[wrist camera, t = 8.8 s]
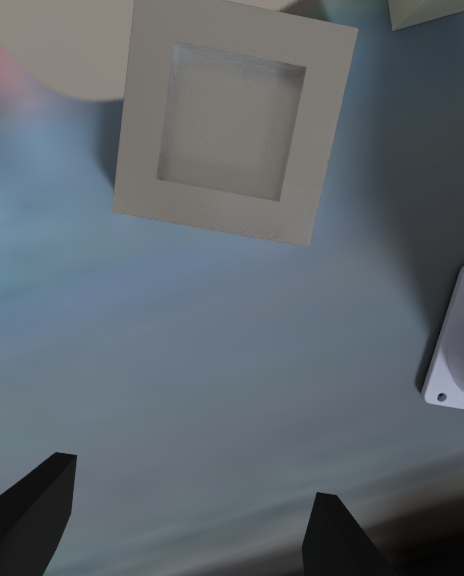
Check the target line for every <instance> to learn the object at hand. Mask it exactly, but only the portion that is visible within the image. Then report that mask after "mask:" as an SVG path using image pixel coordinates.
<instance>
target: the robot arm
mask: <svg viewBox="0 0 464 576" xmlns="http://www.w3.org/2000/svg"><path fill="white" fill-rule="evenodd" d="M440 393H443V395H442V397H440V398H437V396H438V395H439V394H440ZM421 396H422V398H423V399H424V400H425V401H426V402H427V403H430V404H436V405H442V406H448V407H454V408H460V409H464V266H463V267H462V268H461V270H460V273H459V276H458V279H457V282H456V285H455V288H454V291H453V294H452V298H451V301H450V304H449V307H448V310H447V313H446V316H445V319H444V323H443V326H442V329H441V332H440V335H439V338H438V341H437V344H436V348H435V351H434V354H433V357H432V360H431V363H430V366H429V369H428V373H427V376H426V379H425V382H424V385H423V388H422V391H421ZM76 461H77V455H72V454H65V453H59V452H56V453H54V454H53V455H51V456H50V457H49V458H48V459H46V460H45V461H44V462H42V463H41V464H40V465H39V466H37V467H36V468H35V469H34V470H32V471H31V472H30V473H29V474H27V475H26V476H25V477H24V478H22V479H21V480H20V481H18V482H17V483H16V484H15V485H13V486H12V487H11V488H9V489H8V490H7V491H5V492H4V493H3V494H1V495H0V576H42V575H43V574H44V572H45V570H46V568H47V566H48V564H49V562H50V560H51V559H52V557H53V555H54V553H55V551H56V549H57V546H58V544H59V542H60V539H61V537H62V535H63V532H64V530H65V527H66V525H67V522H68V520H69V517H70V515H71V509H72V500H73V490H74V480H75V471H76ZM302 554H303V564H304V573H305V576H399V575H398V574H397V573H396V571H395V570H394V569H393V568H392V566H391V565H390V564H389V563H388V562H387V560H386V559H385V558H384V557H383V555H382V554H381V553H380V552H379V550H378V549H377V548H376V546H375V545H374V544H373V543H372V541H371V540H370V539H369V537H368V536H367V535H366V534H365V532H364V531H363V530H362V528H361V527H360V526H359V524H358V523H357V522H356V520H355V519H354V518H353V516H352V515H351V514H350V512H349V511H348V509H347V508H346V507H345V505H344V504H343V503H342V501H341V500H340V499H339V498H338V496H337V495H332V494H326V493H319V492H317V493H316V497H315V501H314V504H313V508H312V512H311V515H310V519H309V523H308V526H307V530H306V534H305V537H304V541H303V545H302Z"/></svg>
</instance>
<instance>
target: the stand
mask: <svg viewBox="0 0 464 576" xmlns="http://www.w3.org/2000/svg"><path fill="white" fill-rule="evenodd" d="M358 30H359V28H355V27H350V26H346V25H341V24H336V23H331V22H326V21H321V20H317V19H312V18H307V17H302V16H297V15H292V14H287V13H283V12H278V11H273V10H268V9H263V8H258V7H254V6H249V5H244V4H239V3H234V2H229V1H224V0H134V9H133V19H132V28H131V38H130V47H129V57H128V67H127V76H126V84H125V94H124V103H123V113H122V122H121V131H120V141H119V150H118V159H117V169H116V178H115V188H114V197H113V206H112V212H114V213H120V214H125V215H131V216H137V217H142V218H148V219H153V220H159V221H164V222H170V223H175V224H181V225H186V226H192V227H198V228H203V229H209V230H214V231H220V232H225V233H231V234H236V235H242V236H247V237H253V238H259V239H264V240H270V241H275V242H281V243H286V244H292V245H297V246H303V247H308V248H309V246H310V242H311V238H312V233H313V229H314V224H315V220H316V215H317V211H318V207H319V202H320V198H321V193H322V189H323V185H324V180H325V176H326V171H327V167H328V162H329V158H330V154H331V149H332V145H333V140H334V136H335V131H336V127H337V123H338V118H339V114H340V109H341V105H342V100H343V96H344V92H345V87H346V83H347V78H348V74H349V69H350V65H351V61H352V56H353V52H354V47H355V43H356V38H357V34H358Z"/></svg>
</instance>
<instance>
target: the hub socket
mask: <svg viewBox="0 0 464 576" xmlns="http://www.w3.org/2000/svg"><path fill="white" fill-rule="evenodd" d="M388 5H389V11H390V18H391V25H392V31H396V30H399V29H402V28H406V27H409V26H413V25H416V24H420V23H423V22H427V21H430V20H434V19H437V18H440V17H444V16H447V15H451V14H454V13H458V12H461V11H464V0H388Z"/></svg>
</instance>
